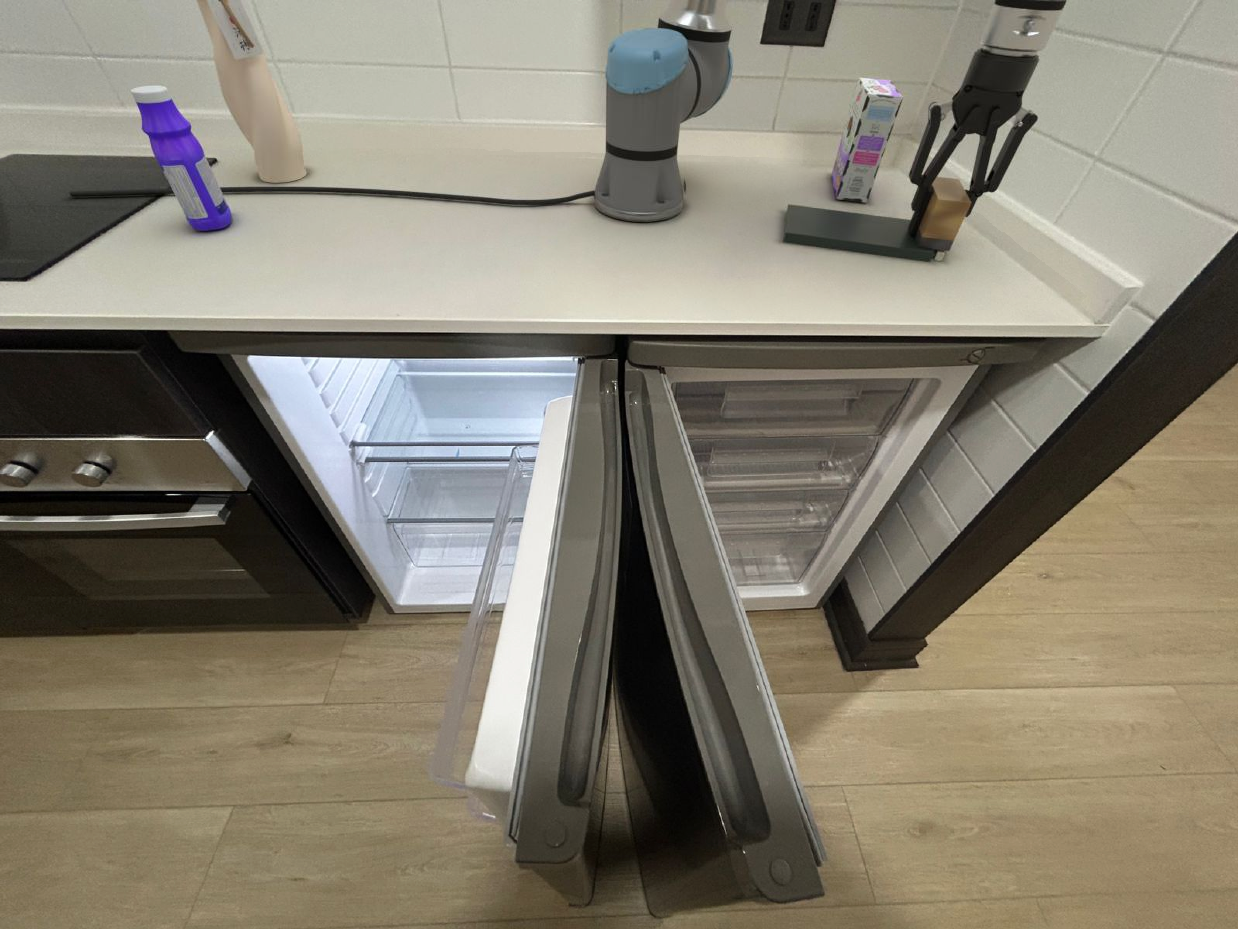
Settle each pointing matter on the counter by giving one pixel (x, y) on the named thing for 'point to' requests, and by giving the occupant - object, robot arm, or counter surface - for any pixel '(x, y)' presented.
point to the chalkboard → (852, 232)
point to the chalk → (938, 254)
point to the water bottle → (253, 92)
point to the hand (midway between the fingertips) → (929, 233)
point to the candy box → (865, 138)
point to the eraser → (943, 214)
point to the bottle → (182, 159)
